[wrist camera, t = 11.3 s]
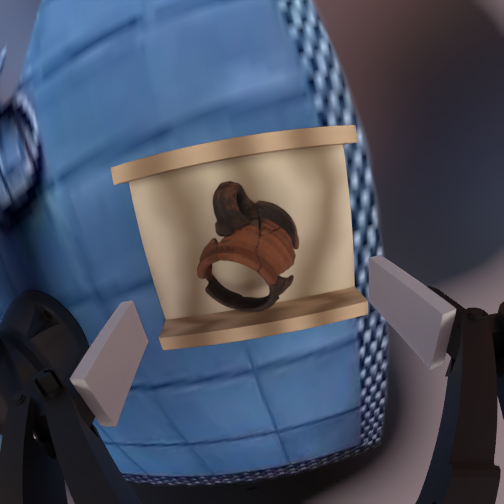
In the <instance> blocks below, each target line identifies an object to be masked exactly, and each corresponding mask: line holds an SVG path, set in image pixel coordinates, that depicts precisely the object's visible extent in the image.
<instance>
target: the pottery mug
mask: <svg viewBox="0 0 504 504" xmlns="http://www.w3.org/2000/svg"><path fill="white" fill-rule="evenodd" d="M213 209H214V214H215V216H216V219H217V222H216V223H215V231H216V233H217V235H219V236H221V237H223V236H224V238H223V239H222V240H221V241H220V242H219V243H218V241H217V239H216V238H213V239H211V240H210V242H209V243H208V244H207V245H206V246H205V248H204V249H203V251H202V254H201V256H200V263H199V264H198V267H197V275H198V278H201V279H205V278H206V280H207V281H208V285H207V287H206V288H205V291H206V293H207V294H208V295H209V296H210V297H212V298H213V299H214V300H216V301H217V302H218V303H220V304H222V305H224V306H226V307H229V308H233V309H235V310H238V311H242V312H260V311H264V310H266V309H268V308H270V307H271V306H273V305H274V304H275V303H276V301H277V300H278V299H279V295H281V294H282V293H284V291H285V290H286V289H287V288H288V287H289V286H291V284H292V282H293V279H294V276H293V275H290V276H289V277H288V278H287V277H286V278H285V277H281V276H279V275H280V274H281V273H284V272H285V271H286V270H288V269H289V268H290V267H291V266H293V265H294V261H295V257H296V254H295V251H294V249H298V248H299V237H298V234H297V228H296V225H295V223H294V221H293V220H292V218H291V216H290V215H289V214H288V213H287V212H286V211H285V210H284V209H282V208H281V207H279V206H278V205H276V204H274V203H270V202H266V201H260V200H259V201H257V202H256V203H254V202H253V201H252V200H250V199H249V197H248V196H247V195H246V193H245V191H244V189H243V187H242V186H241V185H240V184H239V183H235V182H231V181H227V182H222V183H220V184H219V186H218V188H217V189H216V190H215V192H214V195H213ZM255 219H258V220H259V227H257V226H256V225H255V224H251V221H252V220H255ZM293 248H294V249H293ZM220 260H221V261H232V262H236V263H240V264H243V265H245V266H248V267H249V268H251V269H253V270H254V271H257V272H258V274H259V275H261V276H262V278H263V279H264V280H265V281H266V283H267V284H268V285H269V295H268V296H265V297H260V298H256V297H243V296H242V295H240V294H238V293H235V292H233V291H230V290H228V289H226V288H225V287H224V286H223V285H221V284H220V283H219V282H218V280H217V279H216V278H215V277H214V275H213V274H212V264H213V263H215V262H217V261H220Z"/></svg>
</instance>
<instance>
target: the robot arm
mask: <svg viewBox="0 0 504 504" xmlns="http://www.w3.org/2000/svg"><path fill="white" fill-rule="evenodd" d="M369 302H370V303H371V304H372V305H373V306H374V307H375V309H376V310H377V311H378V312H379V313H380V314H381V315H382V316H383V317H384V318H385V319H386V320H387V322H388V323H389V324H390V325H391V326H392V327H393V328H394V329H395V330H396V331H397V332H398V334H399V335H400V336H401V337H402V338H403V339H404V340H405V341H406V343H407V344H408V345H409V346H410V347H411V348H412V349H413V350H414V352H415V353H416V354H417V355H418V356H419V357H420V358H421V360H422V361H423V362H424V363H425V364H426V365H427V366H428V368H429V369H432V368H435V367H437V366H439V365H441V364H443V362H444V359H445V356H446V352H447V353H448V354H449V355H450V356H451V360H450V363H449V366H448V370H447V372H446V375H445V376H448V381H447V389H446V395H445V402H444V408H443V414H442V419H441V423H440V428H439V432H438V437H437V441H436V445H435V449H434V452H433V456H432V460H431V463H430V466H429V470H428V473H427V476H426V479H425V482H424V485H423V487H422V490H421V493H420V495H419V498H418V500H417V502H416V504H495V501H496V497H497V491H498V487H499V481H500V468H499V466H496V465H494V454H495V445H496V432H497V395H498V399H499V403H500V406H501V410H502V415H503V419H504V302H502V304H500V307H499V310H498V313H496V314H491V315H488V313H486V312H485V311H484V310H482V309H479V308H468V309H465V308H463V307H462V306H461V305H459V304H458V303H457V302H455V301H454V300H452V299H451V298H449V297H448V296H447V295H444V293H443V292H441V291H440V290H438V289H436V288H433V287H430V286H425V285H423V284H422V283H421V282H419V281H418V280H416V279H415V278H413V277H412V276H411V275H409V274H408V273H406V272H405V271H403V270H402V269H400V268H399V267H398V266H396V265H395V264H393V263H391V262H390V261H389V260H387V259H386V258H384V257H383V256H381V255H379V256H374V257H370V258H369ZM148 342H149V341H148V339H147V336H146V334H145V331H144V329H143V326H142V324H141V321H140V318H139V316H138V313H137V310H136V307H135V305H134V302H133V300H132V301H125V302H121V303H120V304H119V306H118V307H117V309H116V310H115V311H114V313H113V314H112V316H111V317H110V318H109V320H108V321H107V323H106V324H105V326H104V327H103V329H102V330H101V331H100V333H99V334H98V336H97V337H96V339H95V340H94V342H93V343H92V345H91V346H90V348H88V344H87V341H86V338H85V336H84V334H83V332H82V330H81V328H80V327H79V325H78V323H77V322H76V320H75V319H74V318H73V317H72V315H71V314H70V313H69V312H68V311H67V310H66V309H65V308H64V307H63V306H62V305H61V304H60V303H59V302H57V301H56V300H55V299H53V298H52V297H50V296H48V295H46V294H44V293H42V292H38V291H27V292H24V293H23V294H21V295H20V296H19V297H17V298H16V299H15V300H14V301H13V302H12V303H11V304H10V306H9V308H8V310H7V312H6V314H5V315H4V317H3V319H2V321H1V324H0V504H68V502H67V496H66V489H65V481H66V483H67V486H68V488H69V491H70V493H71V496H72V498H73V500H74V502H75V504H142V503H141V502H140V501H139V499H138V498H137V497H136V495H135V494H134V492H133V491H132V489H131V488H130V486H129V485H128V483H127V482H126V480H125V479H124V477H123V475H122V474H121V472H120V471H119V469H118V467H117V466H116V464H115V462H114V461H113V459H112V457H111V455H110V454H109V452H108V450H107V448H106V446H105V444H104V443H103V441H102V439H101V437H100V435H99V433H98V431H97V429H96V427H95V426H94V425H93V420H94V418H96V419H97V420H98V422H99V423H100V424H101V426H111V427H116V426H117V423H118V420H119V417H120V414H121V411H122V409H123V406H124V403H125V400H126V398H127V395H128V392H129V390H130V387H131V384H132V382H133V379H134V376H135V374H136V371H137V369H138V366H139V364H140V361H141V359H142V356H143V354H144V351H145V349H146V346H147V344H148ZM34 437H35V438H34ZM64 478H65V481H64Z"/></svg>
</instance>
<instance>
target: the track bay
mask: <svg viewBox="0 0 504 504" xmlns="http://www.w3.org/2000/svg"><path fill="white" fill-rule="evenodd" d="M356 142H358V141H357V134H356V128H355V125H347V126H329V127H316V128H305V129H295V130H286V131H277V132H269V133H262V134H255V135H249V136H242V137H236V138H231V139H225V140H220V141H214V142H209V143H204V144H199V145H195V146H190V147H186V148H181V149H177V150H173V151H169V152H165V153H161V154H157V155H153V156H149V157H146V158H142V159H138V160H135V161H131V162H128V163H125V164H121V165H118V166H115V167H112V168H111V172H112V178H113V183H114V185H116V184H121V183H127V182H129V186H130V191H131V195H132V200H133V205H134V209H135V214H136V218H137V222H138V226H139V230H140V234H141V238H142V242H143V246H144V250H145V254H146V257H147V261H148V264H149V268H150V271H151V275H152V278H153V281H154V285H155V288H156V291H157V294H158V298H159V301H160V304H161V307H162V310H163V313H164V316H165V319H166V321H165V323H164V326H163V328H162V331H161V333H160V335H159V341H160V343H161V346H162V348H163V350H171V349H180V348H190V347H198V346H206V345H214V344H221V343H228V342H235V341H241V340H248V339H254V338H260V337H265V336H271V335H276V334H282V333H287V332H292V331H297V330H302V329H307V328H311V327H316V326H321V325H325V324H329V323H334V322H338V321H342V320H346V319H350V318H354V317H358V316H362V315H366V314H368V301H367V300H366V299H365V297H364V296H363V295H362V294H361V293H360V292H359V291H358V290H357V289H356V288H355V284H354V254H353V236H352V222H351V210H350V199H349V190H348V181H347V172H346V165H345V157H344V150H343V145H344V144H350V143H356ZM227 181H231V182H235V183H239V184H240V185H241V186H242V187H243V189H244V191H245V193H246V195H247V196H248V197H249V199H250V200H252V201H253V202H254V203H256V202H257V201H259V200H260V201H266V202H270V203H274V204H276V205H278V206H279V207H281V208H282V209H284V210H285V211H286V212H287V213H288V214H289V215H290V216H291V218H292V220H293V221H294V223H295V225H296V228H297V234H298V237H299V248H298V249H294V248H293V249H294V251H295V254H296V257H295V261H294V265H293V266H291V267H290V268H289V269H288V270H286V271H285V272H284V273H281V274H280V275H279V276H281V277H285V278H286V277H287V278H288V277H289V276H290V275H293V276H294V279H293V282H292V284H291V286H289V287H288V288H287V289H286V290H285V291H284V293H282V294H281V295H279V299H278V300H277V301H276V303H275V304H274V305H273V306H271V307H270V308H268V309H266V310H264V311H260V312H242V311H238V310H235V309H233V308H229V307H226V306H224V305H222V304H220V303H218V302H217V301H216V300H214V299H213V298H212V297H210V296H209V295H208V294H207V293H206V291H205V288H206V287H207V285H208V281H207V280H206V278H205V279H201V278H198V275H197V267H198V264H199V263H200V256H201V254H202V251H203V249H204V248H205V246H206V245H207V244H208V243H209V242H210V240H211V239H213V238H216V239H217V241H218V243H219V242H220V241H221V240H222V239H223V238H224V236H223V237H221V236H219V235H217V233H216V231H215V223H216V222H217V219H216V216H215V214H214V209H213V195H214V192H215V190H216V189H217V188H218V186H219V184H220V183H222V182H227ZM251 224H255V225H256V226H257V227H259V220H258V219H255V220H252V221H251ZM212 274H213V275H214V277H215V278H216V279H217V280H218V282H219V283H220V284H221V285H223V286H224V287H225V288H226V289H228V290H230V291H233V292H235V293H238V294H240V295H242V296H243V297H256V298H260V297H265V296H268V295H269V285H268V284H267V283H266V281H265V280H264V279H263V278H262V276H261V275H259V274H258V272H257V271H254V270H253V269H251V268H249V267H248V266H245V265H243V264H240V263H236V262H232V261H221V260H220V261H217V262H215V263H213V264H212Z"/></svg>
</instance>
